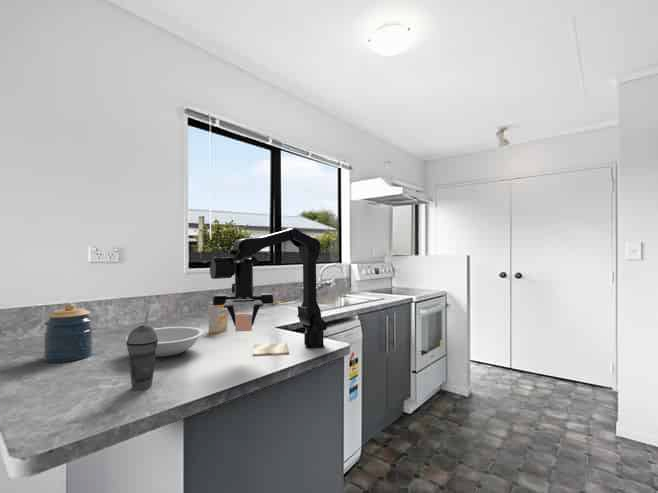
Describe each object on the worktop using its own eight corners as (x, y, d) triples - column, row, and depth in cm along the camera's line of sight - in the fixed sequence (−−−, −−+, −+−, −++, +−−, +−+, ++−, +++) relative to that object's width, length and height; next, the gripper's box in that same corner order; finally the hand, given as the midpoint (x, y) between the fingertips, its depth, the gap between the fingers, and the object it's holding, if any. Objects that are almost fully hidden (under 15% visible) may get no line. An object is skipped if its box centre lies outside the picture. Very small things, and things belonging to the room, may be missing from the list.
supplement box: (218, 333, 149) (218, 302, 149) (208, 333, 150) (208, 302, 150) (227, 329, 157) (228, 299, 157) (217, 328, 158) (218, 299, 158)
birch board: (286, 344, 132) (286, 343, 132) (288, 354, 120) (289, 352, 120) (253, 346, 129) (253, 344, 129) (252, 355, 118) (252, 353, 118)
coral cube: (252, 327, 117) (252, 312, 117) (251, 330, 112) (251, 315, 112) (236, 328, 116) (236, 312, 116) (235, 331, 111) (235, 315, 112)
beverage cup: (133, 382, 94) (134, 306, 94) (162, 381, 94) (163, 306, 94) (119, 393, 86) (120, 311, 87) (150, 392, 87) (151, 310, 87)
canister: (101, 353, 119) (102, 301, 119) (61, 365, 107) (62, 307, 107) (74, 350, 123) (75, 299, 124) (33, 360, 111) (34, 304, 111)
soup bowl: (107, 360, 112) (107, 339, 112) (165, 342, 135) (166, 324, 135) (166, 369, 104) (166, 346, 104) (218, 348, 127) (218, 329, 127)
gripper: (272, 275, 124) (272, 319, 124) (217, 276, 121) (217, 321, 121) (273, 277, 113) (273, 326, 113) (212, 278, 110) (212, 328, 110)
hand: (244, 325), depth 114 cm, fingers closed on coral cube, 5 cm apart
